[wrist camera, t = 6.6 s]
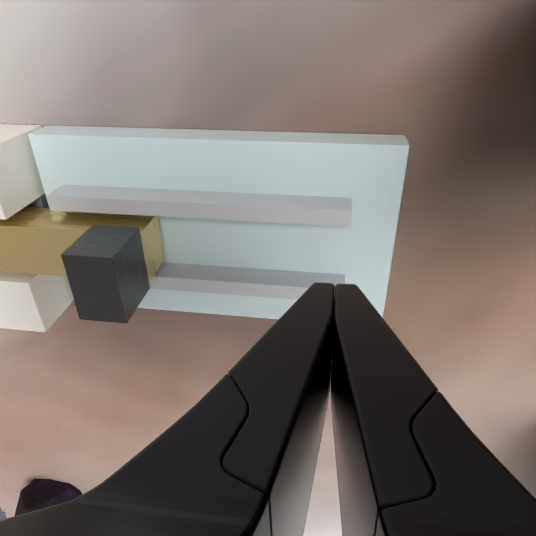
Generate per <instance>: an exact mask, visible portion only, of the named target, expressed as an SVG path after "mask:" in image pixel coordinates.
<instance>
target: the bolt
mask: <svg viewBox="0 0 536 536" xmlns="http://www.w3.org/2000/svg"><path fill="white" fill-rule="evenodd" d="M163 261H164V253H163V247H162V240H161V234H160V227H159V221H158V216H143V215H125V214H106V213H88V212H69V211H51V209H50V208H45V207H24V208H23V209H21V210H20V211H18V212H17V213H15V214H14V215H12V216H11V217H9V218H8V219H6V220H2V219H0V271H2V272H15V273H29V274H42V275H56V276H67V278H68V281H69V284H70V288H71V291H72V294H73V298H74V301H75V305H76V308H77V311H78V315H79V318H80V319H83V320H95V321H106V322H118V323H127V322H128V321H129V319H130V318H131V316H132V315H133V313H134V312H135V310H136V309H137V307H138V306H139V304H140V303H141V301H142V300H143V298H144V297H145V295H146V293H147V292H148V290H149V289H150V285H149V282H150V280H151V279H152V277H153V276H154V274H155V273H156V271H157V270H158V268H159V267H160V265H161V264H162V262H163Z"/></svg>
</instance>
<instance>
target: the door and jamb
mask: <svg viewBox="0 0 536 536" xmlns="http://www.w3.org/2000/svg"><path fill="white" fill-rule="evenodd" d="M408 152H409V143H408V141H407V139H406V136H405V135H381V134H344V133H308V132H271V131H234V130H197V129H160V128H124V127H87V126H50V125H47V126H45V127H43V128H42V126H41V125H13V124H0V219H2V220H6V219H8V218H9V217H11V216H12V215H14V214H15V213H17V212H18V211H20V210H21V209H23V208H24V207H45V208H50V209H51V211H69V212H88V213H106V214H125V215H143V216H158V221H159V227H160V234H161V240H162V247H163V253H164V261H163V262H162V264H161V265H160V267H159V268H158V270H157V271H156V273H155V274H154V276H153V277H152V279H151V280H150V282H149V285H150V289H149V290H148V292H147V293H146V295H145V297H144V298H143V300H142V301H141V303H140V304H139V306H138V307H137V308H145V309H158V310H170V311H182V312H194V313H207V314H219V315H231V316H243V317H255V318H268V319H280V318H281V316H282V315H283V314H284V313H285V312H286V311H287V310H288V309H289V308H290V307H291V306H292V305H293V304H294V303H295V302H296V301H297V300H298V299H299V298H300V297H301V296H302V294H303V293H304V292H305V291H306V290H307V289H308V288H309V287H310V286H311V285H312V284H313V283H315V282H322V283H333V284H334V285H335V286H336V284H339V283H342V284H356V285H357V286H358V287H359V288H360V290H361V291H362V292H363V293H364V295H365V296H366V297H367V299H368V300H369V301H370V302H371V304H372V305H373V306H374V308H375V309H376V310H377V311H378V313H379V314H380V315H381V317H382V318H383V313H384V306H385V300H386V293H387V287H388V281H389V274H390V268H391V261H392V255H393V248H394V242H395V236H396V229H397V223H398V216H399V210H400V203H401V197H402V191H403V184H404V178H405V171H406V165H407V158H408ZM334 298H335V296H334ZM73 301H74V298H73V294H72V291H71V288H70V284H69V281H68V278H67V276H56V275H42V274H29V273H15V272H2V271H0V328H5V329H15V330H26V331H37V332H46V331H47V330H48V329H49V328H50V327H51V326H52V325H53V323H54V322H55V321H56V320H57V319H58V318H59V317H60V315H61V314H62V313H63V312H64V311H65V310H66V309H67V307H68V306H69V305H70V304H71V303H72V302H73Z"/></svg>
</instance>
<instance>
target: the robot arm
mask: <svg viewBox="0 0 536 536" xmlns="http://www.w3.org/2000/svg"><path fill="white" fill-rule="evenodd" d="M334 296H335V298H334ZM331 360H332V363H331ZM330 380H331V408H332V420H333V431H334V443H335V454H336V466H337V478H338V489H339V501H340V512H341V524H342V536H536V498H535V497H534V496H533V495H532V494H531V493H530V492H529V491H528V490H527V489H526V488H525V487H524V486H523V485H522V484H521V483H520V482H519V481H518V480H517V478H516V477H515V476H514V475H513V474H512V473H511V472H510V471H509V470H508V469H507V468H506V467H505V466H504V465H503V464H502V463H501V462H500V461H499V460H498V459H497V458H496V457H495V456H494V455H493V453H492V452H491V451H490V450H489V449H488V448H487V447H486V446H485V445H484V444H483V443H482V442H481V441H480V439H479V438H478V437H477V436H476V435H475V434H474V433H473V432H472V431H471V429H470V428H469V427H468V426H467V425H466V423H465V422H464V421H463V420H462V419H461V417H460V416H459V415H458V414H457V413H456V411H455V410H454V409H453V408H452V406H451V405H450V404H449V403H448V401H447V400H446V399H445V397H444V396H443V395H442V394H441V393H440V392H438V389H437V387H436V386H435V385H434V383H433V382H432V381H431V380H430V378H429V377H428V376H427V374H426V373H425V372H424V371H423V369H422V368H421V367H420V365H419V364H418V363H417V362H416V360H415V359H414V358H413V356H412V355H411V354H410V353H409V351H408V350H407V349H406V347H405V346H404V345H403V344H402V342H401V341H400V340H399V338H398V337H397V336H396V335H395V333H394V332H393V331H392V329H391V328H390V327H389V326H388V324H387V323H386V322H385V320H384V319H383V318H382V317H381V315H380V314H379V313H378V311H377V310H376V309H375V308H374V306H373V305H372V304H371V302H370V301H369V300H368V299H367V297H366V296H365V295H364V293H363V292H362V291H361V290H360V288H359V287H358V286H357V285H356V284H342V283H339V284H336V286H335V285H334V284H333V283H322V282H315V283H313V284H312V285H311V286H310V287H309V288H308V289H307V290H306V291H305V292H304V293H303V294H302V296H301V297H300V298H299V299H298V300H297V301H296V302H295V303H294V304H293V305H292V306H291V307H290V308H289V309H288V310H287V311H286V312H285V313H284V314H283V315H282V316H281V318H280V319H279V320H278V321H277V322H276V323H275V324H274V325H273V326H272V327H271V328H270V329H269V330H268V331H267V332H266V333H265V334H264V335H263V336H262V337H261V339H260V340H259V341H258V342H257V343H256V344H255V345H254V346H253V347H252V348H251V349H250V350H249V351H248V352H247V353H246V354H245V355H244V356H243V357H242V358H241V359H240V361H239V362H238V363H237V364H236V365H235V366H234V367H233V368H232V369H231V370H230V371H229V372H228V374H226V375H225V376H224V377H223V378H222V379H221V380H220V381H219V382H218V383H217V384H216V385H215V386H214V387H213V388H212V389H211V390H210V391H209V392H208V393H207V394H206V395H205V396H204V397H203V398H202V399H201V400H200V401H199V402H198V403H197V404H196V405H195V406H194V407H193V408H192V409H190V410H189V411H188V412H187V413H186V414H185V415H184V416H182V417H181V418H180V419H179V420H178V421H177V422H176V423H174V424H173V425H172V426H171V427H170V428H168V429H167V430H166V431H165V432H164V433H162V434H161V435H160V436H159V437H158V438H156V439H155V440H154V441H153V442H151V443H150V444H149V445H148V446H147V447H145V448H144V449H143V450H142V451H141V452H139V453H138V454H137V455H136V456H135V457H133V458H132V459H131V460H130V461H128V462H127V463H126V464H125V465H124V466H122V467H121V468H120V469H119V470H118V471H116V472H115V473H114V474H113V475H111V476H110V477H109V478H107V479H106V480H105V481H104V482H102V483H101V484H99V485H98V486H96V487H95V488H93V489H92V490H90V491H88V492H87V493H85V494H83V495H81V496H79V497H77V498H75V499H72V500H70V501H68V502H65V503H62V504H59V505H55V506H51V507H48V508H44V509H40V510H37V511H33V512H29V513H26V514H22V515H18V516H15V517H11V518H7V519H3V520H0V536H303V533H304V527H305V522H306V517H307V511H308V506H309V501H310V495H311V490H312V485H313V479H314V474H315V469H316V464H317V458H318V453H319V448H320V442H321V437H322V432H323V426H324V421H325V416H326V410H327V405H328V399H329V392H330Z"/></svg>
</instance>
